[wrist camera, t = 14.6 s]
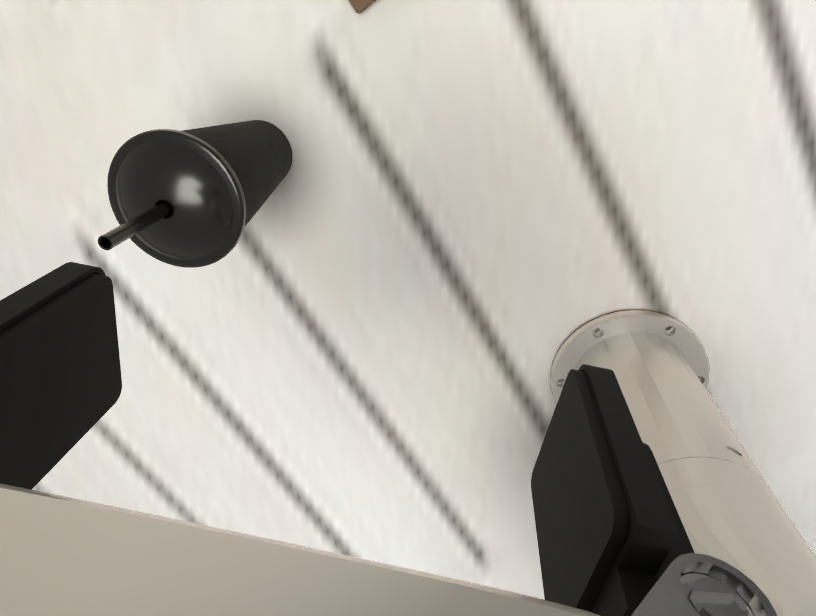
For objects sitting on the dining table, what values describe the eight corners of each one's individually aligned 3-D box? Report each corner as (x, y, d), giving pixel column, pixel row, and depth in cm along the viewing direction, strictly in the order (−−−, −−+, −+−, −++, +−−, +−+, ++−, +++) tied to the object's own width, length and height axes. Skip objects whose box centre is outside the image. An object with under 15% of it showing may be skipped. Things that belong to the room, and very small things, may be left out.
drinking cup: (218, 198, 44) (45, 311, 26) (207, 97, 41) (-2, 148, 23) (312, 206, 44) (199, 326, 26) (308, 103, 40) (175, 161, 22)
